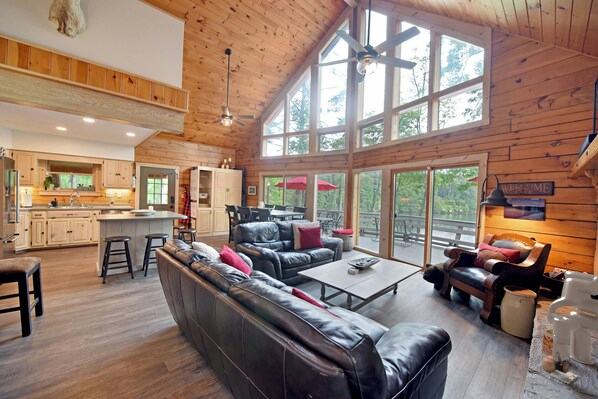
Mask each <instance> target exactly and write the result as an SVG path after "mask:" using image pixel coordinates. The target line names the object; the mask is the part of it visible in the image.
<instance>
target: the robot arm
mask: <svg viewBox="0 0 598 399" xmlns="http://www.w3.org/2000/svg"><path fill="white" fill-rule="evenodd" d="M564 279H565V280H564V281H563V287H562V290H561V296H560V298H558V299H555V300H554V301H552V302H551V303H550V305H548V309H547V311H546V320H547V322H548V323H549V324H551V325H552V328H553V340H554V342H553V349H552V357H555V369H554V370H558V371H560V372H563V365H562V363H563V361H565V362H567V363H568V359H571V360H573V361H575V362H578V363H581V364H585V365H592V366H593V365H595V364H596V363H595V362H596V361H595V360H594V359H593V358H592V335H591V334H592V333H590V331H594V332H597V333H598V299H594V298H592V297H591V296H597V295H598V275H597V274H592V273H585V272H579V271H573V270H566V271H565V272H564ZM569 306H570V307H571V306H572V308H573V309H574V310H573V311H570V312H569V313H568V315H564V314H561V313H559V312H556V310H557V309H559V308H562V307H569ZM577 310H578V311H577ZM580 311H581V312H580ZM591 314H592V315H591ZM589 330H590V331H589ZM559 358H560V359H559ZM559 360H560V361H561V363H560V361H559Z"/></svg>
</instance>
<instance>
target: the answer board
mask: <svg viewBox="0 0 598 399" xmlns="http://www.w3.org/2000/svg"><path fill="white" fill-rule="evenodd" d="M549 376H550V377H552V378H554V379H555V380H558V381H560V382H563V383H564V384H566V383H567V384H566V385H570V384H571V383H572V382H573V381H574V380H576V379H578V378H579V376H578V374H575V373H574V372H573V373H572V372H570V371H569V372H567V373H566V374H565V373H562V372H560V371H558V370H556V369H554V372H550V373H549ZM571 381H572V382H571ZM570 382H571V383H570Z"/></svg>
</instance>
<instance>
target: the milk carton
mask: <svg viewBox="0 0 598 399" xmlns="http://www.w3.org/2000/svg"><path fill="white" fill-rule="evenodd" d="M553 342H554V340H553V327H552V328H548V329H546V330H544V334H543V338H542V343H541V352H542V353H544V355H546V357H547V356H548V355H551V356H552V349H553ZM559 359H560V358H559Z"/></svg>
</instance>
